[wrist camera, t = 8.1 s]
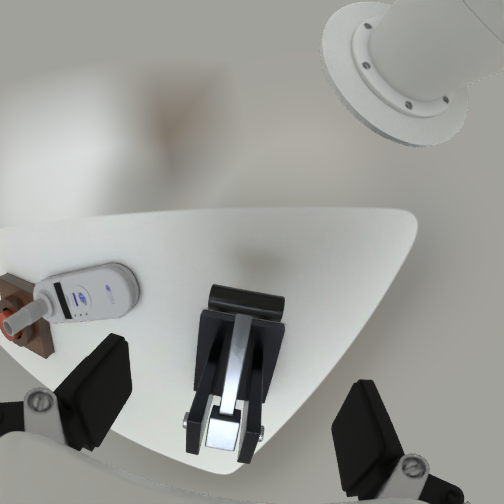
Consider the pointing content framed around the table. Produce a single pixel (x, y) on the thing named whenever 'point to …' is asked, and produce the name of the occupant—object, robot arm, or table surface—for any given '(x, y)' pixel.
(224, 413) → the lever
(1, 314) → the button
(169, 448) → the table surface
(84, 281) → the electronic device
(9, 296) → the button housing
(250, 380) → the bracket
